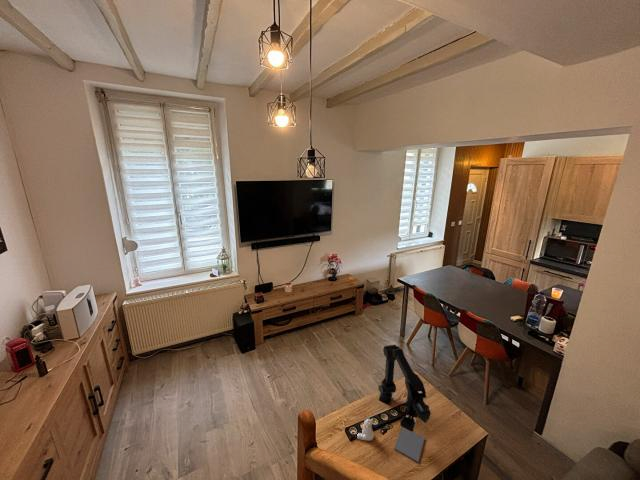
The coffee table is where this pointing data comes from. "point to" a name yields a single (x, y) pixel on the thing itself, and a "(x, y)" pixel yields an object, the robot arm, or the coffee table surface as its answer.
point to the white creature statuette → (366, 431)
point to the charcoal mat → (409, 444)
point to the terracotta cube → (415, 424)
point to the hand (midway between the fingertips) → (409, 425)
